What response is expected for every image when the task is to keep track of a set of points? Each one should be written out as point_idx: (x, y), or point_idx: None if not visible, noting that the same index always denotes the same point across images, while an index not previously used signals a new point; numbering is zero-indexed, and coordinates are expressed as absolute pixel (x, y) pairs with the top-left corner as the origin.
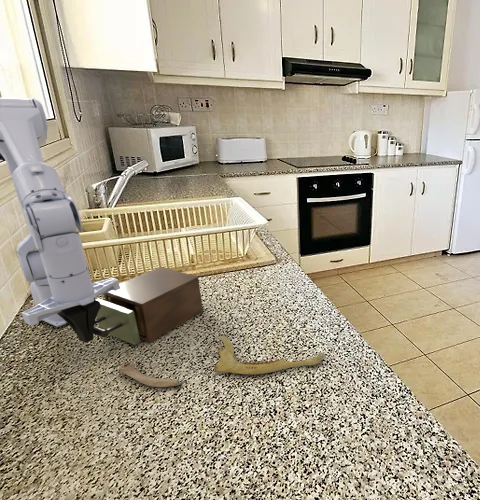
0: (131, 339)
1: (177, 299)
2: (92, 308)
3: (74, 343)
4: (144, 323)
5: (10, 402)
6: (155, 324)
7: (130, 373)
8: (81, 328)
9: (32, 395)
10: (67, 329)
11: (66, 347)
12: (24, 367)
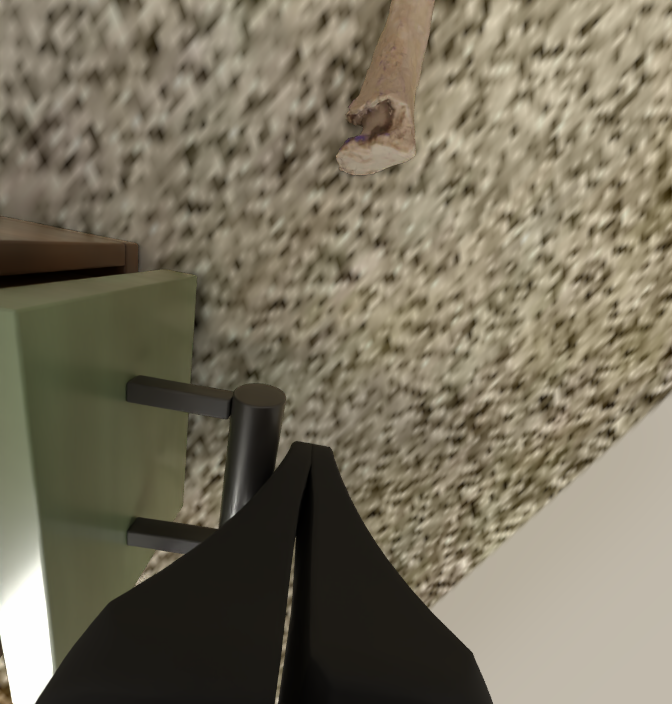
0: (183, 297)
1: None
2: (213, 658)
3: None
4: (38, 258)
5: (587, 453)
6: (4, 227)
7: (415, 62)
8: (354, 519)
9: (550, 420)
10: None
11: None
12: (427, 557)
